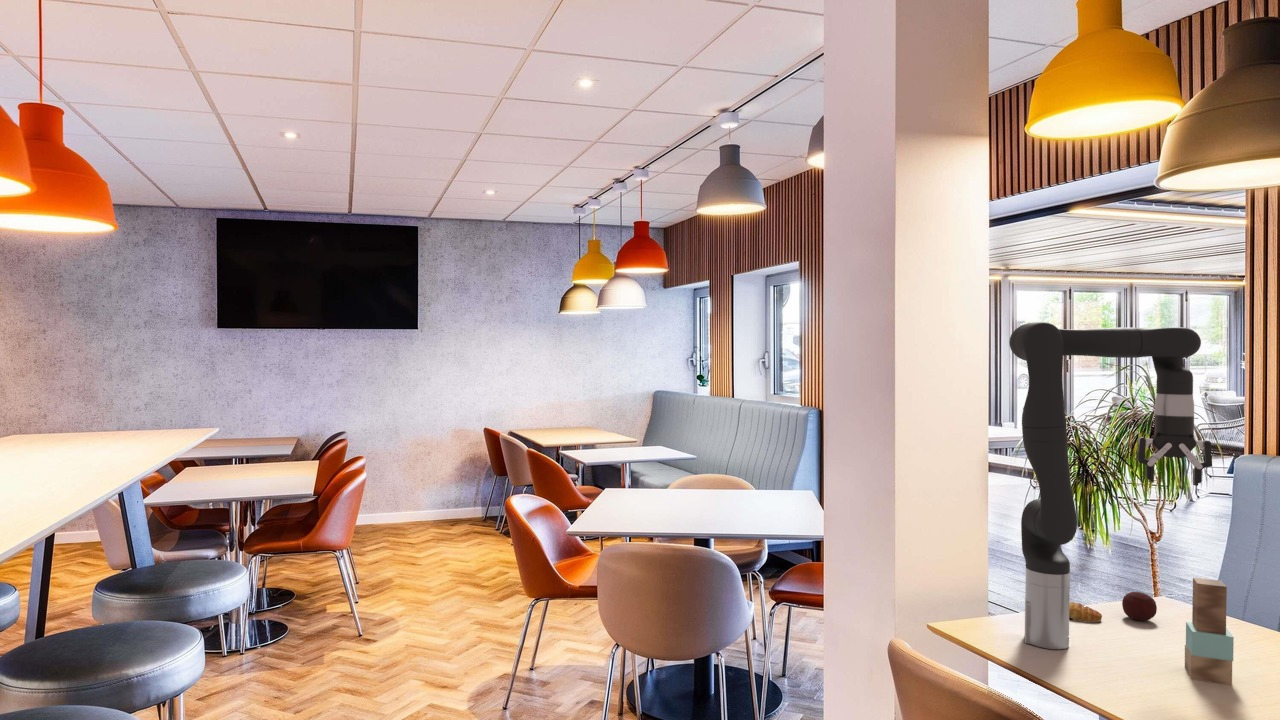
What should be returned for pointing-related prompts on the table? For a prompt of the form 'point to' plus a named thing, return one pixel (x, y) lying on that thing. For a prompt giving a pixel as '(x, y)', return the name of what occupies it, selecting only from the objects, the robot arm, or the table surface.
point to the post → (1209, 606)
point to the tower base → (1208, 668)
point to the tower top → (1209, 643)
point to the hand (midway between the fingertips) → (1173, 483)
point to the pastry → (1083, 613)
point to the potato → (1139, 606)
